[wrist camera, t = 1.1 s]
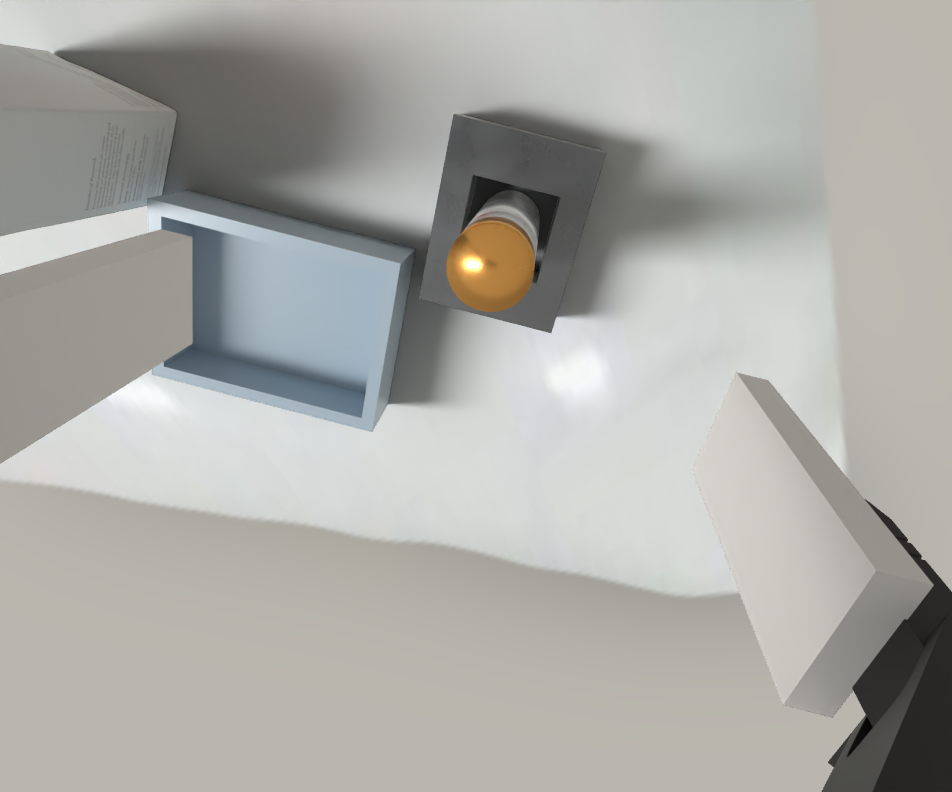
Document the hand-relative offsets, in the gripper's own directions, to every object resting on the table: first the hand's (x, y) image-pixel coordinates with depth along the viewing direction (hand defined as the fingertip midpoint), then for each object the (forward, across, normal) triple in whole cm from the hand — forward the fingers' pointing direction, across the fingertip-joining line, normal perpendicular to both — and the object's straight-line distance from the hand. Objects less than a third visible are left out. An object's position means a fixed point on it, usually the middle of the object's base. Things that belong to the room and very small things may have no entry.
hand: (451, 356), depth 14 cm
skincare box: (+23, -25, -1) cm, 34 cm away
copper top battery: (+23, 0, 0) cm, 23 cm away
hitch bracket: (+23, 0, 0) cm, 23 cm away
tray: (+23, -13, -9) cm, 28 cm away
